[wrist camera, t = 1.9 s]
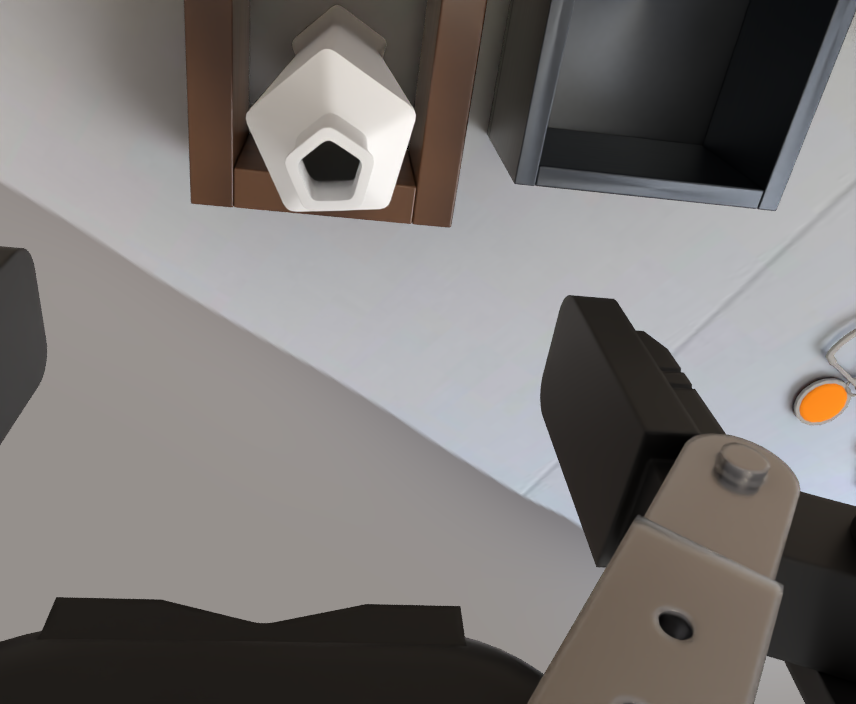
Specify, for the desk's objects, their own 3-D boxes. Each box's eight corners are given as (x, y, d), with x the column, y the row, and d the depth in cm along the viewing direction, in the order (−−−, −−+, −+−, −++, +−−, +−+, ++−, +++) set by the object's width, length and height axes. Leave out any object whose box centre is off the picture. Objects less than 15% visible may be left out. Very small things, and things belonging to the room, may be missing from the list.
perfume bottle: (295, -20, 29) (250, 46, 16) (402, 16, 30) (437, 105, 17) (271, 95, 31) (215, 232, 18) (371, 125, 32) (383, 275, 19)
